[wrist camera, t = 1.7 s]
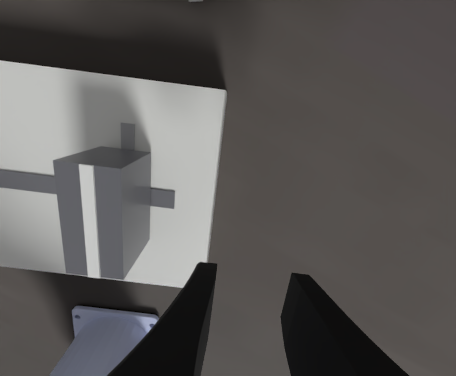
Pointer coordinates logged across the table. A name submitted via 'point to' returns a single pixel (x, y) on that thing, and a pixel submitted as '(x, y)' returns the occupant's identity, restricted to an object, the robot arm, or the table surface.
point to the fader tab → (103, 210)
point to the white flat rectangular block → (116, 138)
